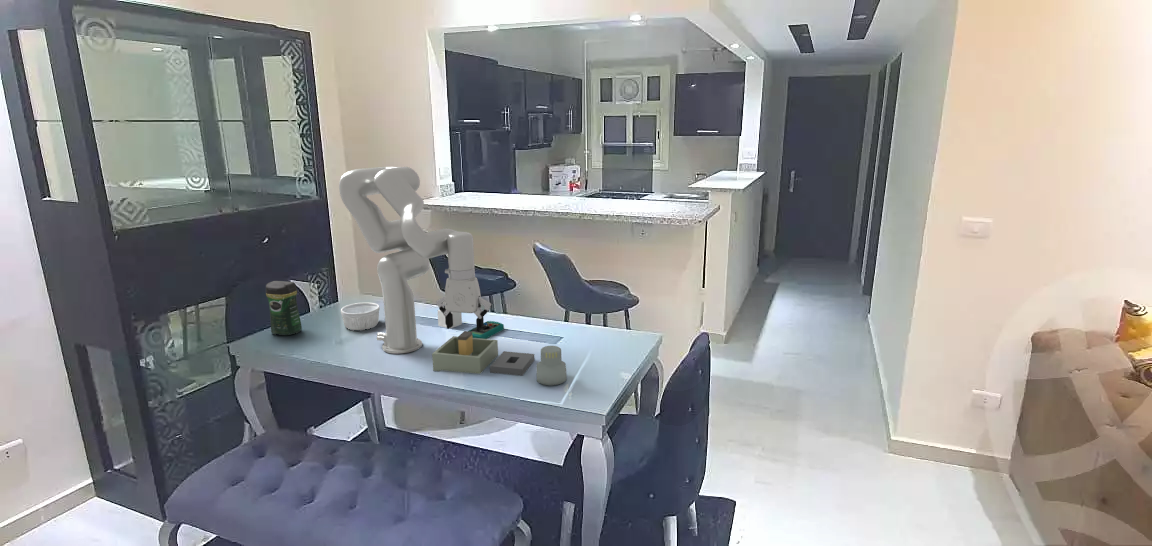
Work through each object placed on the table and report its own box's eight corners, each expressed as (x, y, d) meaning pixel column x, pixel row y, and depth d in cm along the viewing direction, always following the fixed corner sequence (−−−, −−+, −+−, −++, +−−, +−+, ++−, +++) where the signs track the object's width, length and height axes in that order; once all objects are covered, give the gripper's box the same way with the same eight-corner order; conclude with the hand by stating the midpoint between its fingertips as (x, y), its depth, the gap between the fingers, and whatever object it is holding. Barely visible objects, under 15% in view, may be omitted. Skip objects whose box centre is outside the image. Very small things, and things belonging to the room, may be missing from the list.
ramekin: (373, 332, 215) (371, 313, 213) (336, 332, 215) (334, 313, 213) (385, 320, 227) (384, 302, 226) (350, 320, 228) (349, 302, 226)
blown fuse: (459, 364, 185) (458, 336, 183) (465, 358, 190) (464, 331, 188) (467, 365, 185) (465, 337, 182) (473, 358, 189) (472, 331, 187)
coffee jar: (306, 329, 217) (300, 279, 213) (290, 337, 210) (284, 285, 205) (283, 327, 220) (276, 277, 215) (267, 334, 212) (260, 283, 208)
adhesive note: (438, 325, 221) (437, 310, 220) (450, 321, 226) (449, 306, 224) (450, 329, 218) (449, 313, 216) (462, 324, 223) (461, 308, 221)
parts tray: (433, 370, 182) (432, 353, 180) (454, 352, 196) (453, 336, 195) (480, 375, 179) (479, 357, 177) (498, 356, 193) (497, 339, 191)
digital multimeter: (505, 330, 218) (504, 322, 217) (481, 343, 205) (480, 335, 204) (488, 327, 221) (487, 319, 220) (463, 340, 208) (462, 332, 207)
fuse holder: (490, 374, 179) (489, 366, 179) (503, 358, 191) (503, 351, 190) (522, 377, 177) (522, 369, 177) (534, 361, 189) (534, 353, 188)
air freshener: (567, 389, 169) (566, 355, 167) (537, 390, 169) (536, 356, 166) (564, 373, 180) (564, 341, 177) (536, 374, 179) (536, 342, 177)
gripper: (429, 275, 179) (432, 330, 183) (484, 278, 175) (487, 335, 179) (440, 269, 186) (443, 322, 190) (494, 272, 182) (496, 326, 186)
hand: (464, 328), depth 184 cm, fingers open, 9 cm apart
